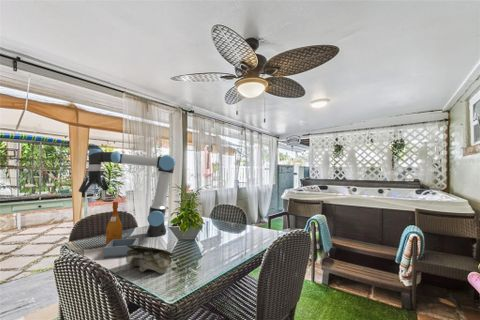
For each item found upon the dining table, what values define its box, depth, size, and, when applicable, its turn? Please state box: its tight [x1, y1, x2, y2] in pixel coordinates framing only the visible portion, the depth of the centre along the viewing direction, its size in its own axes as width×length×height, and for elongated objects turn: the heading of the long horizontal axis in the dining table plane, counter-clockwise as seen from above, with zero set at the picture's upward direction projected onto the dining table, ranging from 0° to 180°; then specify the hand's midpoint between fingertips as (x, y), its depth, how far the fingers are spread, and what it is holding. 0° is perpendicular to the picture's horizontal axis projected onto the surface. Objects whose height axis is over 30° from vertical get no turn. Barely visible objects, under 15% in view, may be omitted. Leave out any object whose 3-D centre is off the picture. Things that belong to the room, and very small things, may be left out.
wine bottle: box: [105, 201, 123, 247], centre depth 150 cm, size 10×10×30 cm
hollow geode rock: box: [125, 245, 176, 275], centre depth 113 cm, size 28×13×15 cm
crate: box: [103, 237, 139, 259], centre depth 136 cm, size 16×16×6 cm
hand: (94, 200), depth 151 cm, fingers open, 13 cm apart
